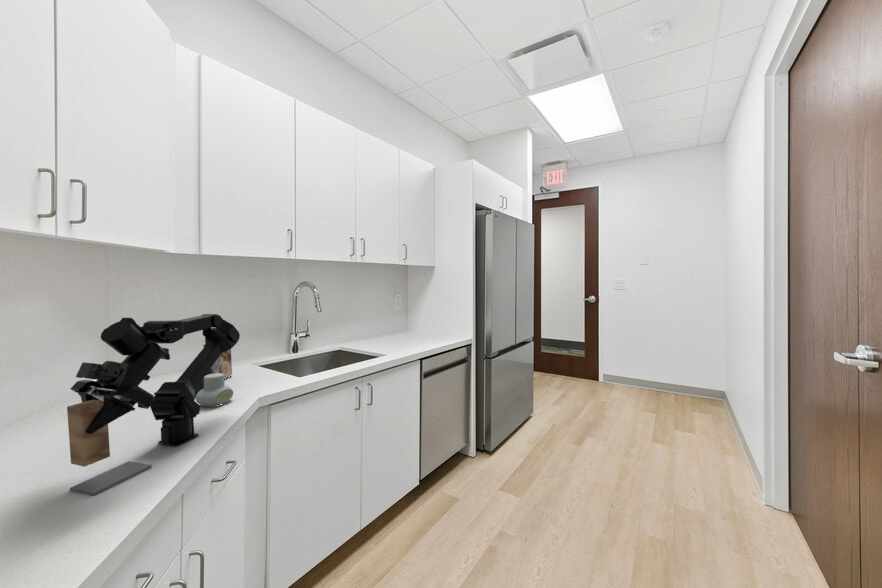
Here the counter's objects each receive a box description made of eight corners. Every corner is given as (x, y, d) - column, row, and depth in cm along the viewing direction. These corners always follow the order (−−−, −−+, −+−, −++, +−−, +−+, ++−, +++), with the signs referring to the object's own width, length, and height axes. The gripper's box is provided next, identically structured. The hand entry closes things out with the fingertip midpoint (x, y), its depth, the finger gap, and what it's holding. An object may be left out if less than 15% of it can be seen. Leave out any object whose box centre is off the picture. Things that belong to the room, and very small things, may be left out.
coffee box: (218, 376, 160) (216, 340, 159) (232, 376, 160) (231, 340, 159) (204, 382, 151) (202, 344, 150) (220, 382, 151) (218, 344, 150)
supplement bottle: (190, 394, 136) (188, 362, 135) (210, 389, 141) (209, 359, 140) (196, 397, 131) (194, 365, 131) (217, 393, 136) (216, 361, 136)
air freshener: (210, 410, 118) (209, 380, 118) (191, 408, 120) (189, 378, 120) (237, 399, 129) (236, 371, 128) (219, 397, 131) (218, 370, 131)
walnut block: (96, 453, 79) (93, 399, 79) (110, 456, 78) (106, 401, 77) (70, 463, 75) (67, 406, 74) (84, 466, 74) (80, 408, 73)
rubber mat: (129, 463, 84) (128, 461, 84) (151, 467, 83) (151, 464, 82) (69, 490, 74) (69, 487, 74) (94, 495, 72) (94, 492, 72)
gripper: (79, 344, 82) (12, 409, 72) (135, 348, 76) (71, 420, 66) (121, 370, 90) (66, 432, 80) (175, 375, 84) (123, 443, 74)
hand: (80, 431), depth 75 cm, fingers closed on walnut block, 4 cm apart
